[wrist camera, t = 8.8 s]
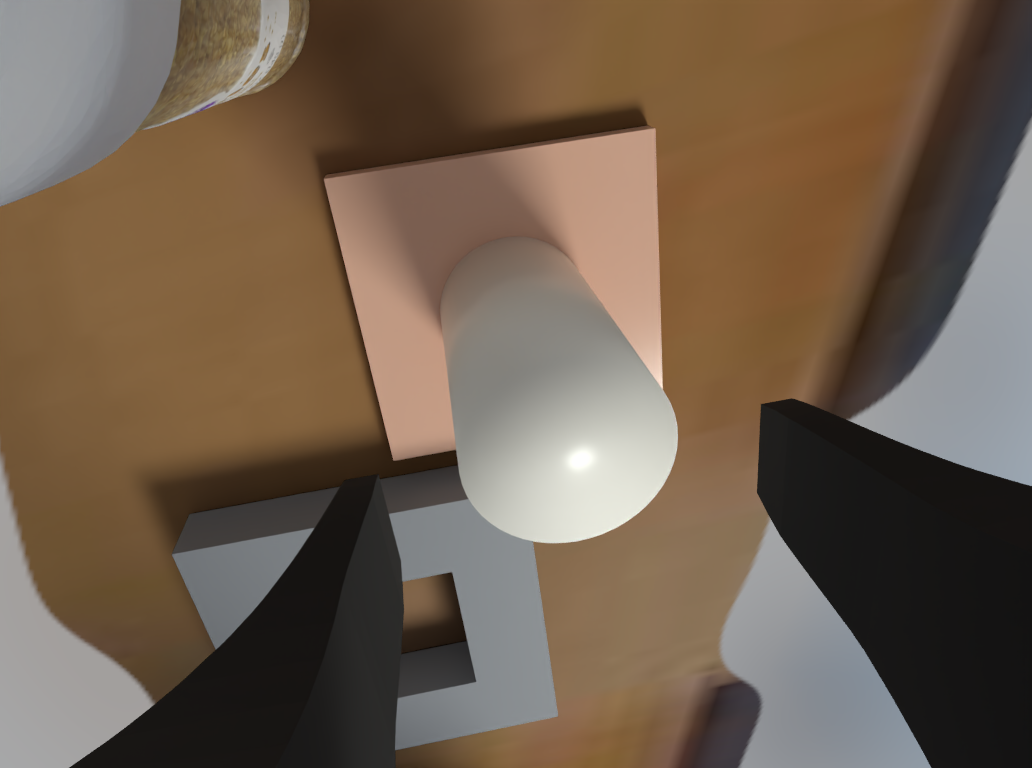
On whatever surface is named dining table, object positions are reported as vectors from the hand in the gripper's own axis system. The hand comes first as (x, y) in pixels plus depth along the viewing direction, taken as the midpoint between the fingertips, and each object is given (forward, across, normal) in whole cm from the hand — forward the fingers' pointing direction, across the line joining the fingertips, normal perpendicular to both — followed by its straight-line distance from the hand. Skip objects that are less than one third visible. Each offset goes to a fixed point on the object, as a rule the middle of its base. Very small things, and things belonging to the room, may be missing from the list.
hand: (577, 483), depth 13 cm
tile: (+10, 0, 0) cm, 10 cm away
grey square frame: (+10, +6, +11) cm, 16 cm away
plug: (+9, 0, 0) cm, 9 cm away
